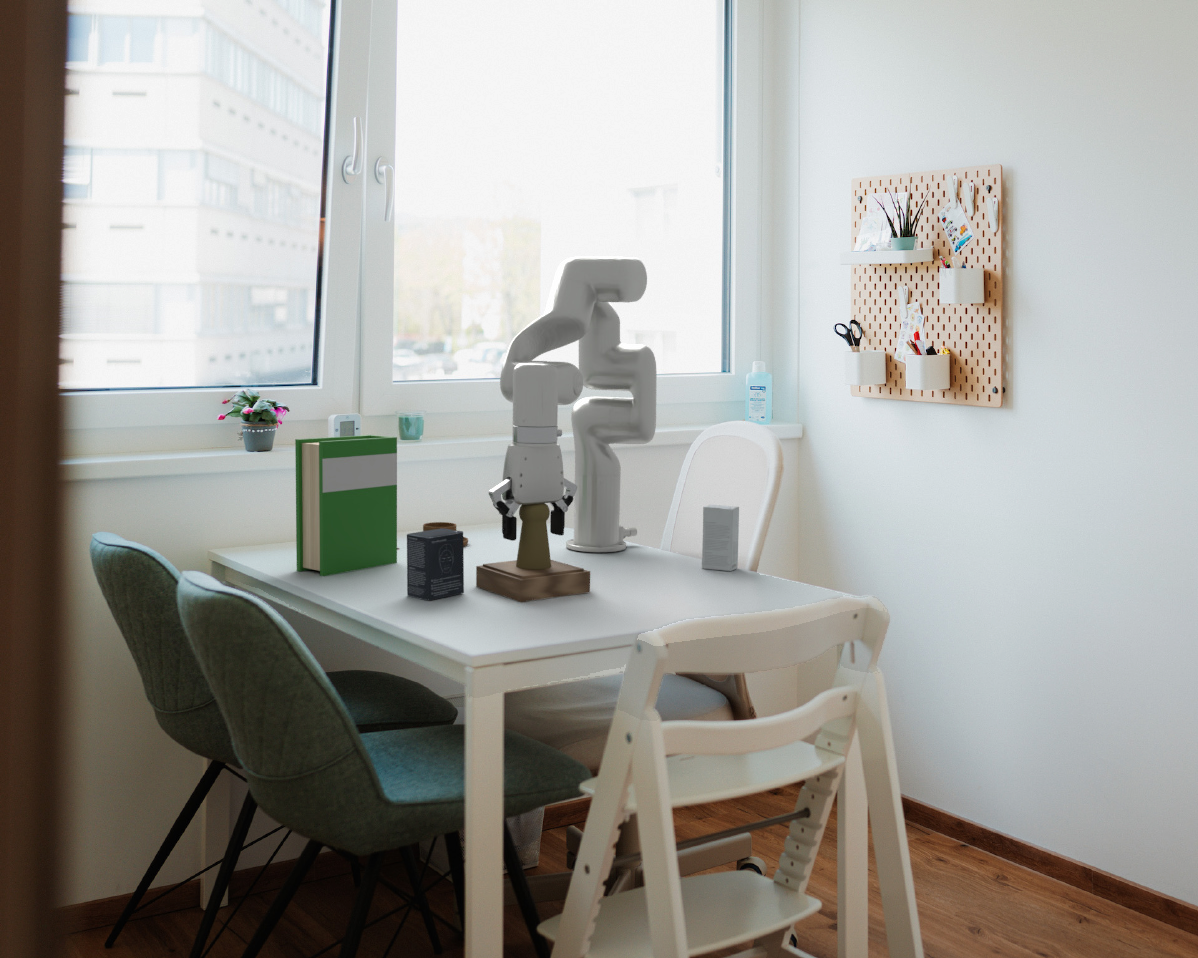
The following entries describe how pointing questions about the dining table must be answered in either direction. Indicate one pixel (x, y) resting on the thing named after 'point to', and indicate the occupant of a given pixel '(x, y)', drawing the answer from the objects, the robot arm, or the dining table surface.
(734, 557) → the skincare box
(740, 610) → the dining table surface
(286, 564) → the dining table surface
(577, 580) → the walnut plinth
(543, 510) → the cork
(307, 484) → the hardback book
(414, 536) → the box
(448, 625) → the dining table surface
